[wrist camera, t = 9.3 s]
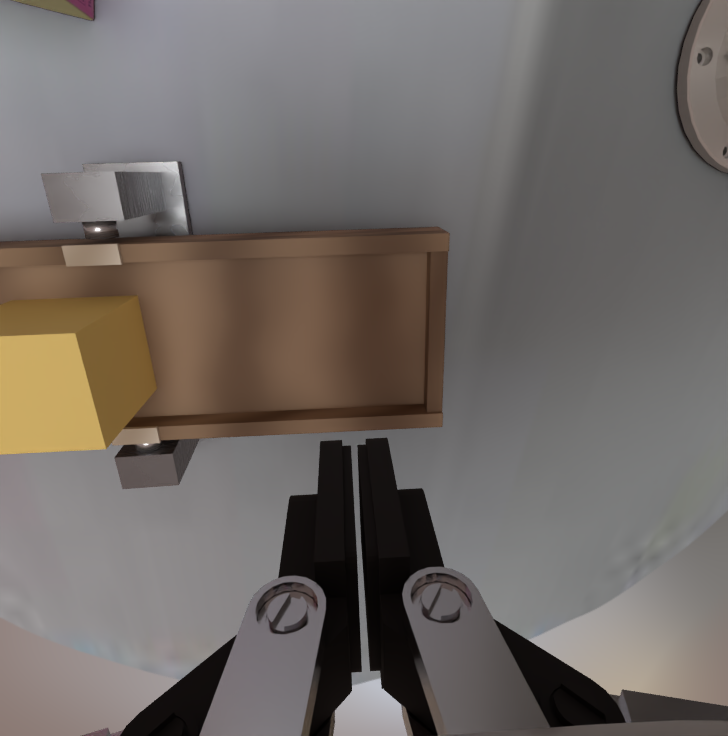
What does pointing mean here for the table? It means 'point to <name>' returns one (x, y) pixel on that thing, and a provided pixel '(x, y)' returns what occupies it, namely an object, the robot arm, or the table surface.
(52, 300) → the block
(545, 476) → the table surface
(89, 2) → the box
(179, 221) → the stand
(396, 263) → the beam
